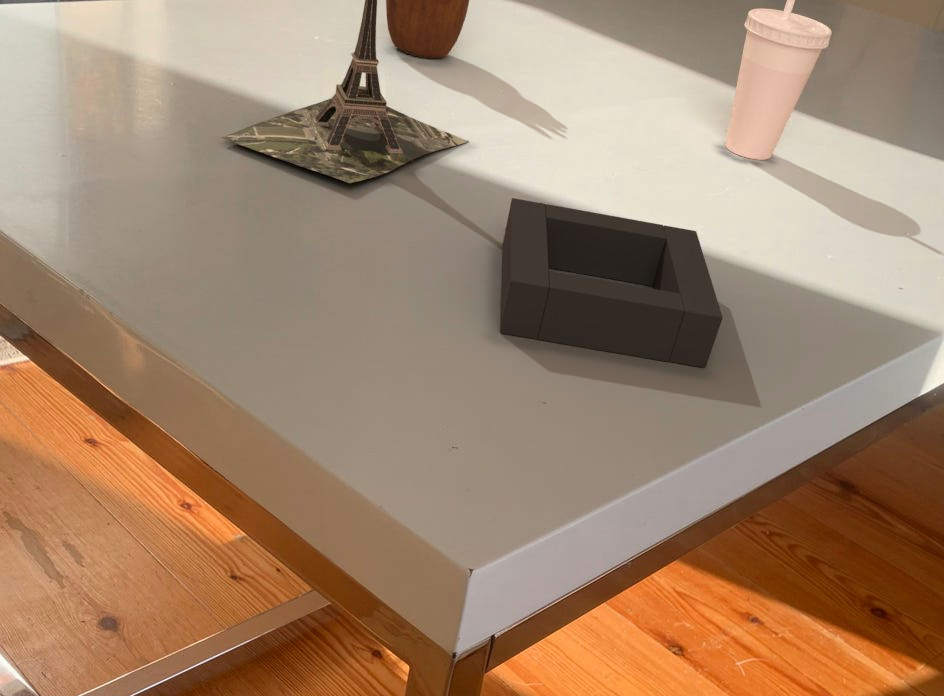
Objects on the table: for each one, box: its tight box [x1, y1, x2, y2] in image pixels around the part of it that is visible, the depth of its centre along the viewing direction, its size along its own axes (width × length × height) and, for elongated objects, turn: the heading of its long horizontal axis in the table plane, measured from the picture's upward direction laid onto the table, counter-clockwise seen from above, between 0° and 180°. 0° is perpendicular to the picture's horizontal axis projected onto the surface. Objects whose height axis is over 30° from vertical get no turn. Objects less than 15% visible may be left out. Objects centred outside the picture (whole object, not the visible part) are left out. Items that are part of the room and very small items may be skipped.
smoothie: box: [725, 0, 833, 161], centre depth 84 cm, size 6×6×14 cm
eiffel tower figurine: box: [220, 0, 470, 184], centre depth 72 cm, size 15×10×13 cm
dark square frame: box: [499, 197, 724, 369], centre depth 62 cm, size 11×11×3 cm
